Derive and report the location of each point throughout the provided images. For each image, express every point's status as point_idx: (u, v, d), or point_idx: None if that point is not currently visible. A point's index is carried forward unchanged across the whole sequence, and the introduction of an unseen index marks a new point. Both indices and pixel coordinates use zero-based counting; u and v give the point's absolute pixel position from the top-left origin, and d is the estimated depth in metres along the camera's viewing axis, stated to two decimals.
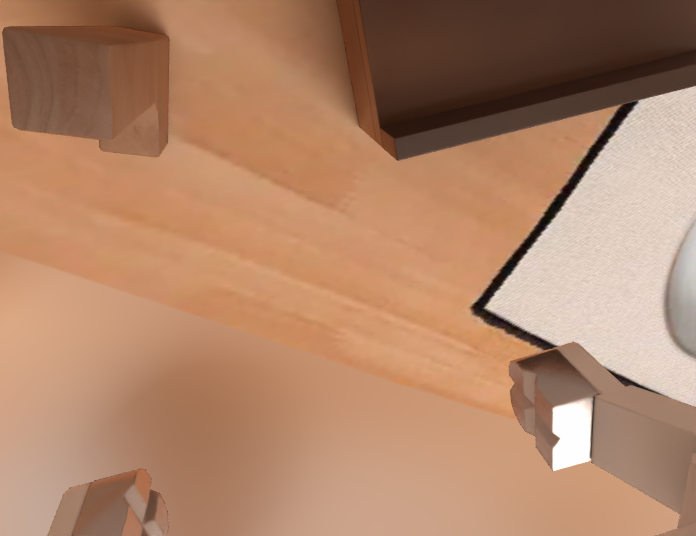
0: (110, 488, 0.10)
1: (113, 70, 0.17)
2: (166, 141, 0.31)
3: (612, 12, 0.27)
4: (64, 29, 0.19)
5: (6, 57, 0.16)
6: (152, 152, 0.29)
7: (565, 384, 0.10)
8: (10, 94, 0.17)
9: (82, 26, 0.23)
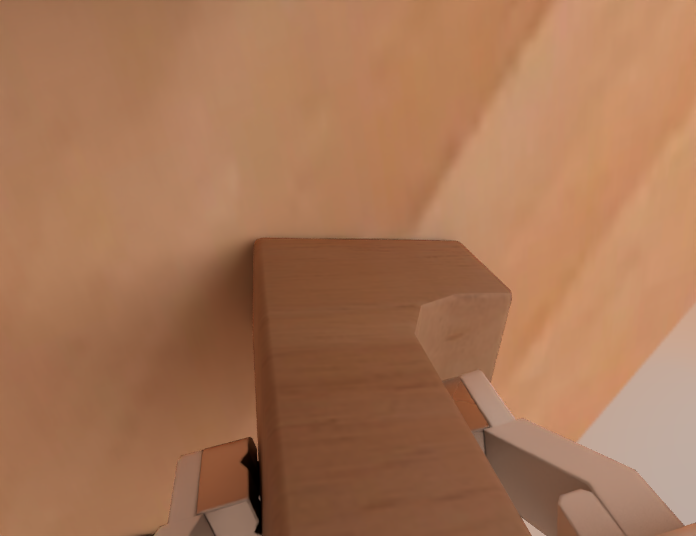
0: (224, 455, 0.10)
1: None
2: (458, 247, 0.15)
3: None
4: None
5: None
6: (502, 305, 0.13)
7: None
8: None
9: (260, 504, 0.10)
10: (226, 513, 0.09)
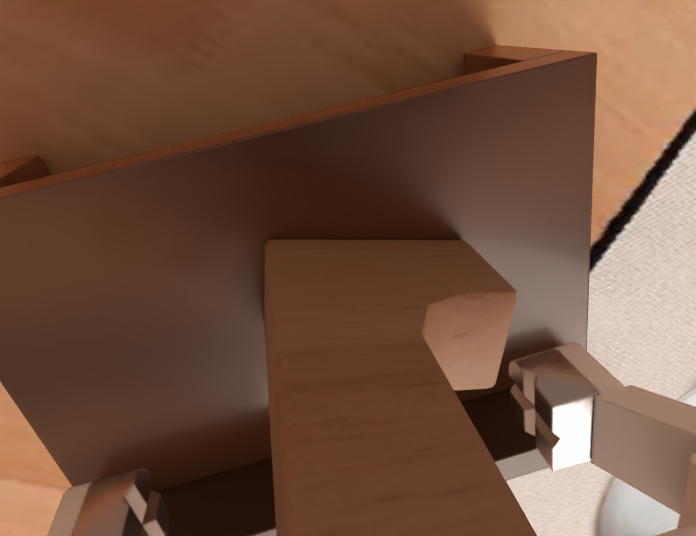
0: (110, 488, 0.10)
1: None
2: (464, 247, 0.15)
3: None
4: None
5: None
6: (507, 303, 0.13)
7: (565, 384, 0.10)
8: None
9: (274, 497, 0.10)
10: None
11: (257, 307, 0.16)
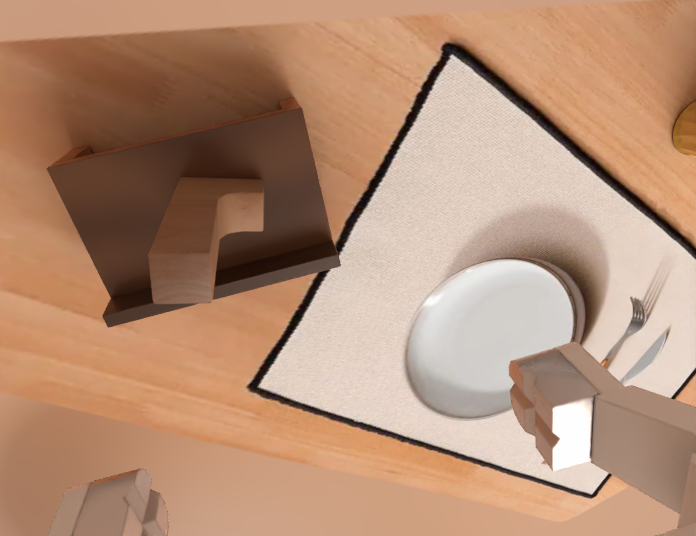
0: (110, 488, 0.10)
1: (164, 250, 0.27)
2: (258, 181, 0.40)
3: None
4: None
5: (170, 303, 0.28)
6: (259, 196, 0.38)
7: (565, 384, 0.10)
8: (191, 302, 0.28)
9: None
10: None
11: None
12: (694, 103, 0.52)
